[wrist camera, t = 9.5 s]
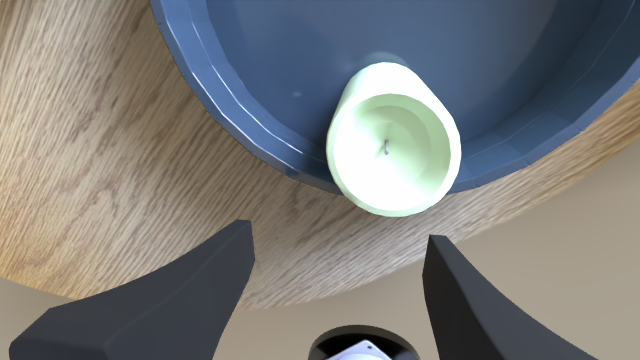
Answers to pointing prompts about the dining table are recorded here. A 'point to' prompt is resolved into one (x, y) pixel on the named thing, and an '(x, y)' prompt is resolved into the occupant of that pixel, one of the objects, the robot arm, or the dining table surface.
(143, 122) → the dining table surface
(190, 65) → the bowl
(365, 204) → the candle
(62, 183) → the dining table surface
